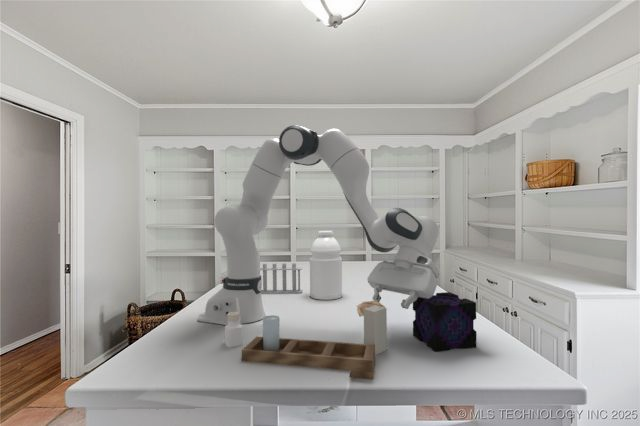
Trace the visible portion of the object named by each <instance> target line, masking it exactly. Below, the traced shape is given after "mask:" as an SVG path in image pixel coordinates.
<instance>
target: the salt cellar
mask: <svg viewBox="0 0 640 426" xmlns="http://www.w3.org/2000/svg"><path fill="white" fill-rule="evenodd" d="M280 326H281V325H280V316H278V315H272V314H271V315H265V317H263V319H262V337H263V350H264V351H276V352H280V338H281V337H280V335H281V333H280Z"/></svg>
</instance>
